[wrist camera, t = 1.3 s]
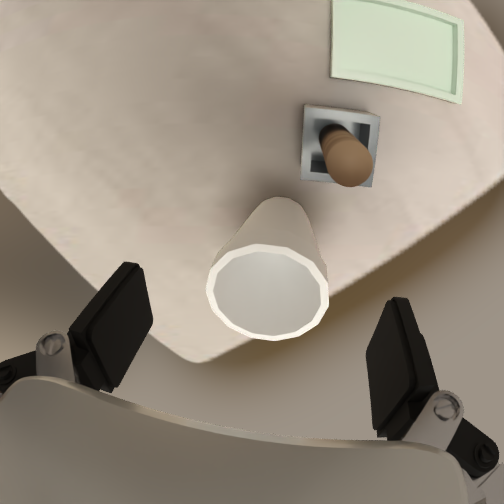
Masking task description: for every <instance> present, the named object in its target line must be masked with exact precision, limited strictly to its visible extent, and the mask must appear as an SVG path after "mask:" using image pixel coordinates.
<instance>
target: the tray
mask: <svg viewBox="0 0 504 504" xmlns="http://www.w3.org/2000/svg"><path fill="white" fill-rule="evenodd" d="M330 78H338V79H345V80H353V81H359V82H366V83H372V84H377V85H383V86H388V87H393V88H397V89H402V90H407V91H411V92H415V93H419V94H423V95H427V96H431V97H434V98H438V99H442V100H445V101H448V102H452V103H455V104H460V105H461V104H462V93H463V78H464V20H461V19H459V18H456V17H454V16H451V15H448V14H446V13H443V12H440V11H437V10H434V9H431V8H428V7H425V6H422V5H419V4H415V3H412V2H408V1H405V0H331V62H330Z"/></svg>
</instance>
